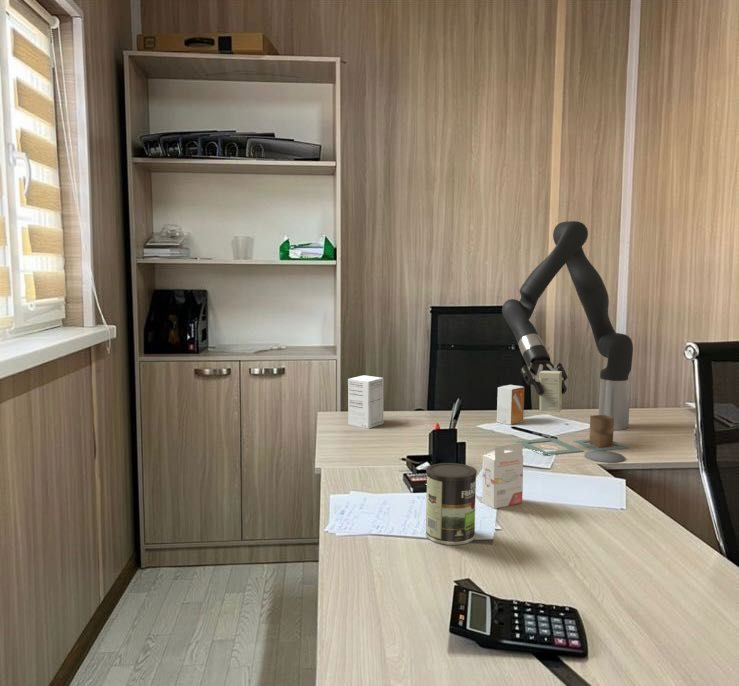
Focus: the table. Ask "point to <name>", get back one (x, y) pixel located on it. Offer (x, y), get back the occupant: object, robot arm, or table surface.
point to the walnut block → (601, 431)
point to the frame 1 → (571, 448)
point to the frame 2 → (618, 446)
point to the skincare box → (551, 391)
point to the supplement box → (365, 401)
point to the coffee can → (450, 503)
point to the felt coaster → (604, 456)
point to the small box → (510, 404)
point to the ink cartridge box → (503, 476)
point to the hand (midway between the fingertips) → (553, 393)
